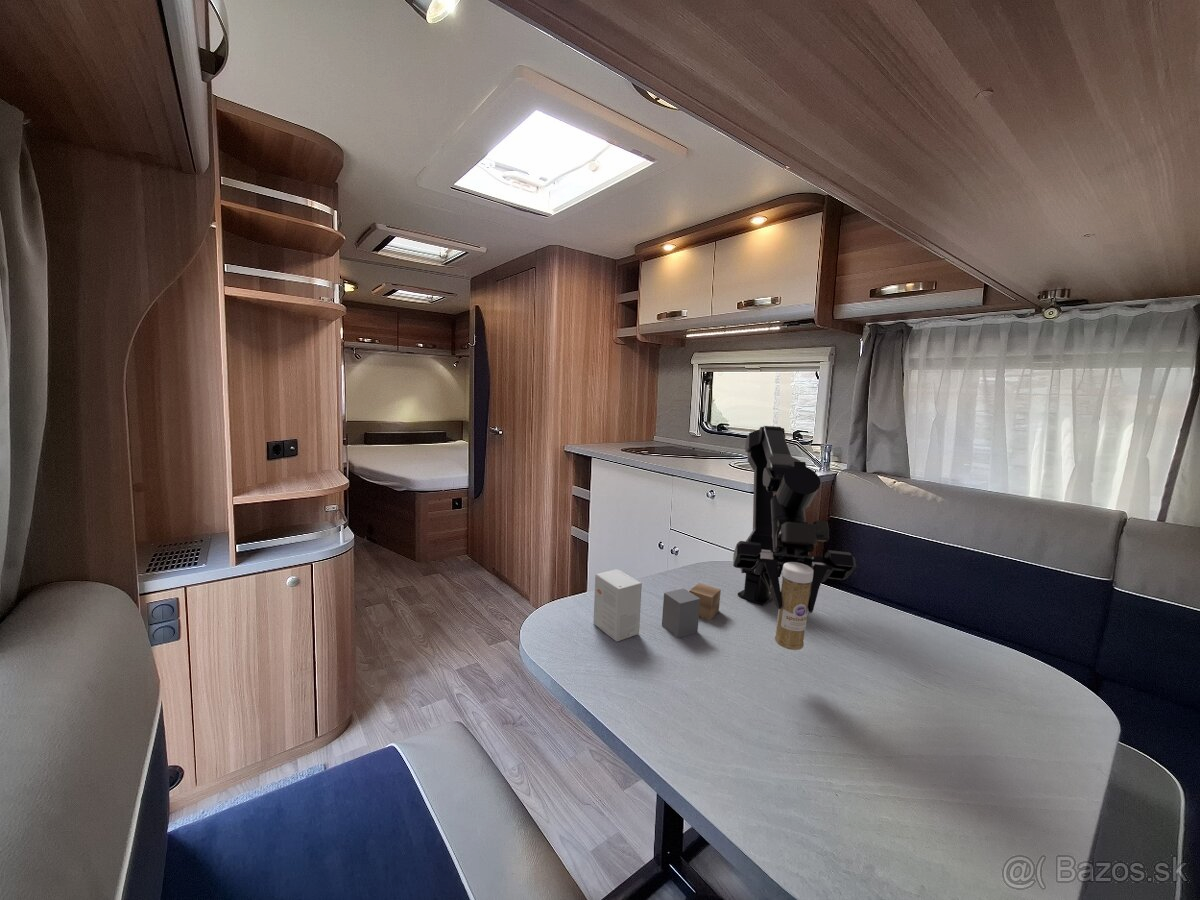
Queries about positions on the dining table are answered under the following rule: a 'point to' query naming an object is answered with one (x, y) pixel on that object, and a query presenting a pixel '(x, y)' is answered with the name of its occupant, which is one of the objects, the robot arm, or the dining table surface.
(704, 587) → the walnut cube
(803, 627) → the sprinkles bottle
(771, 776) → the dining table surface
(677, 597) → the gray block
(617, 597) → the small box
